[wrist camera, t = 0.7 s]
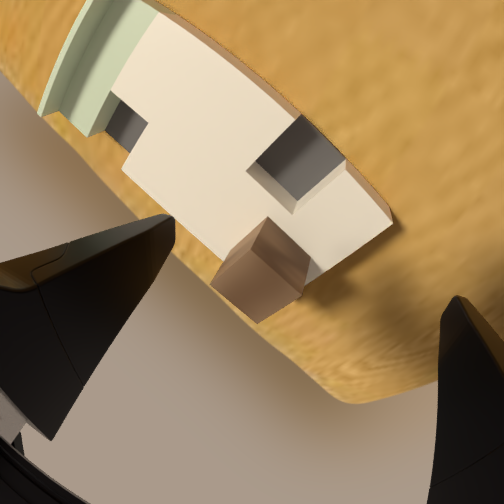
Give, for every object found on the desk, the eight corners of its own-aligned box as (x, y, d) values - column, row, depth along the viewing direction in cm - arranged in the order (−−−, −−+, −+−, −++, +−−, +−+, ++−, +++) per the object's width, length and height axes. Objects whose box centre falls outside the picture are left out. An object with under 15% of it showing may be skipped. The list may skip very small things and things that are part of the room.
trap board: (389, 206, 20) (396, 239, 17) (281, 285, 26) (268, 323, 23) (137, -11, 16) (96, -18, 12) (75, 100, 22) (37, 113, 18)
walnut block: (310, 257, 21) (301, 295, 18) (271, 285, 24) (257, 323, 20) (267, 216, 20) (250, 249, 17) (230, 249, 23) (209, 284, 20)
